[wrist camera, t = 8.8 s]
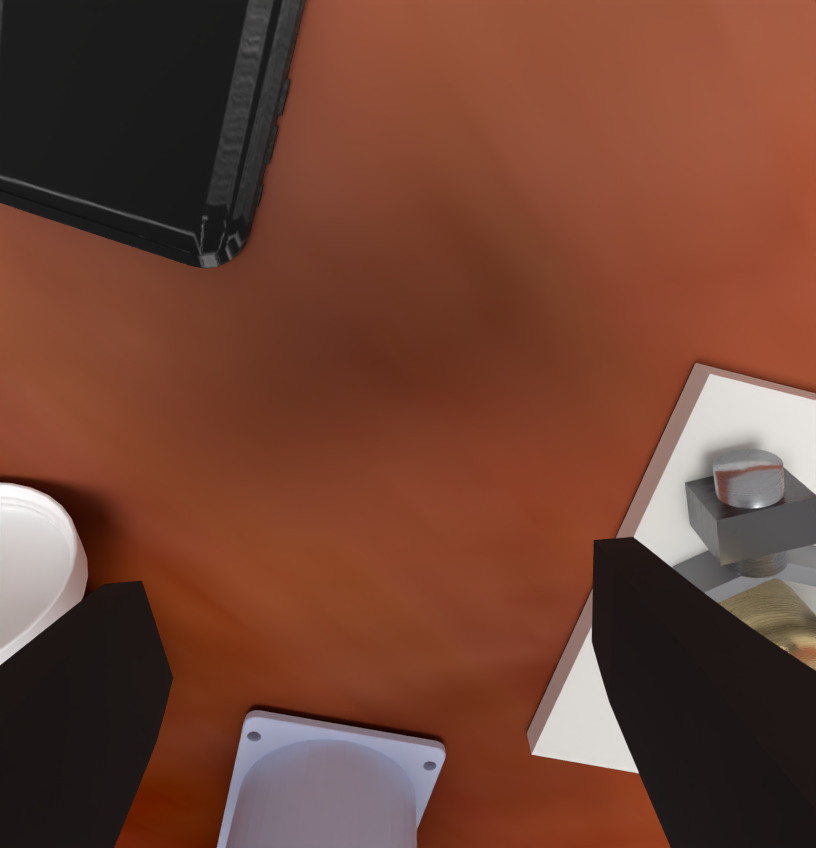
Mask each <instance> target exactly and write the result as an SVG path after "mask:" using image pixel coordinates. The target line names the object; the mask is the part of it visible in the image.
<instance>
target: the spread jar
mask: <svg viewBox="0 0 816 848" xmlns="http://www.w3.org/2000/svg"><path fill="white" fill-rule="evenodd" d="M87 578H88V567H87V557H86V554H85V551H84V548H83V545H82V543H81V540H80V538H79V535H78V533H77V530H76V528H75V526H74V523H73V521H72V518H71V517H70V516H69V514H68V513H67V512H66V510H65V509H64V507H63V506H62V505H61V504H59V503H58V502H57V501H56V500H54V499H53V498H52V497H50V496H49V495H47V494H45V493H43V492H40V491H38V490H36V489H34V488H31V487H27V486H22V485H18V484H14V483H1V482H0V665H1V664H2V663H3V662H5V661H6V660H7V659H8V658H10V657H11V656H12V655H13V654H15V653H16V652H17V651H19V650H20V649H21V648H22V647H24V646H25V645H26V644H27V643H29V642H30V641H31V640H32V639H34V638H35V637H36V636H37V635H39V634H40V633H41V632H42V631H44V630H45V629H46V628H47V627H49V626H50V625H51V624H52V623H54V622H55V621H56V620H57V619H59V618H60V617H61V616H62V615H64V614H65V613H66V612H67V611H69V610H70V609H71V608H73V607H74V606H75V605H76V604H78V603H79V602H80V601H81V600H82V598H83V596H84V593H85V588H86V583H87Z"/></svg>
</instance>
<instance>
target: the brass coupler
mask: <svg viewBox="0 0 816 848" xmlns="http://www.w3.org/2000/svg"><path fill="white" fill-rule="evenodd" d="M718 604H720V605H721V606H722V607H724V608H725V609H726V610H728V611H729V612H731V613H732V614H733V615H735V616H736V617H737V618H739V619H740V620H741V621H743V622H744V623H746V624H747V625H749V626H750V627H751V628H753V629H754V630H756V631H757V632H758V633H760V634H761V635H763V636H764V637H766V638H767V639H769V640H770V641H772V642H773V643H775V644H776V645H778V646H779V647H781V648H782V649H784V650H785V651H787V652H788V653H790V654H791V655H793V656H794V657H796V658H797V659H799V660H800V661H802V662H803V663H805V664H806V665H808V666H809V667H811V668H813V669H814V670H816V615H815V614H814V613H813V611H812V610H811V609H810V608H809V607H808V606H807V605H806V604H805V602H804V601H803V600H802V599H801V598H800V597H799V596H798V595H797V594H796V592H795V591H794V590H793V589H792V588H791V587H790V586H789V585H787V584H786V583H784V582H782V581H780V580H778V579H776V578H773V579H771V580H769V581H766V582H764V583H762V584H760V585H757V586H755V587H753V588H750V589H748V590H746V591H744V592H741V593H739V594H737V595H734V596H732V597H730V598H728V599H725V600H723V601H721V602H718Z"/></svg>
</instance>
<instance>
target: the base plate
mask: <svg viewBox="0 0 816 848" xmlns="http://www.w3.org/2000/svg"><path fill="white" fill-rule="evenodd" d="M740 449H758V450H764V451H768V452H771V453H773V454H775V455H777V456H778V457H780V458H781V460H782V462H783V467H784V468H785V469H786V470H788V471H789V472H790V473H791V474H792V475H793V476H795V477H796V478H797V479H798V480H799V481H800V482H802V483H803V484H804V485H805V486H806V487H807V488H808V489H810V490H811V491H812V492H813V493H814V494H815V495H816V393H812V392H808V391H805V390H801V389H797V388H793V387H789V386H785V385H781V384H777V383H773V382H769V381H765V380H761V379H757V378H753V377H750V376H746V375H742V374H738V373H734V372H730V371H726V370H722V369H718V368H714V367H710V366H706V365H702V364H698V363H695V365H694V367H693V369H692V372H691V374H690V376H689V378H688V380H687V383H686V385H685V387H684V389H683V391H682V394H681V396H680V398H679V400H678V402H677V405H676V407H675V409H674V411H673V413H672V415H671V418H670V420H669V422H668V424H667V426H666V429H665V431H664V433H663V435H662V437H661V440H660V442H659V444H658V446H657V448H656V451H655V453H654V455H653V457H652V459H651V462H650V464H649V466H648V468H647V470H646V472H645V475H644V477H643V479H642V481H641V483H640V486H639V488H638V490H637V492H636V494H635V497H634V499H633V501H632V503H631V505H630V508H629V510H628V512H627V514H626V516H625V519H624V521H623V523H622V525H621V527H620V529H619V532H618V534H617V536H616V538H625V537H634V538H635V539H637V540H638V541H639V542H641V543H642V544H643V545H644V546H646V547H647V548H648V549H649V550H651V551H652V552H653V553H654V554H656V555H657V556H658V557H659V558H661V559H662V560H663V561H664V562H666V563H667V564H668V565H669V566H671V567H672V568H673V569H674V570H676V571H677V572H678V573H680V574H681V575H682V576H683V577H685V578H686V579H687V580H688V581H690V582H691V583H692V584H693V585H695V586H696V587H697V588H699V589H700V590H701V591H703V592H704V593H705V594H706V595H708V596H709V597H710V598H712V599H713V600H714V601H716V602H717V603H718V602H721V601H723V600H725V599H728V598H730V597H732V596H734V595H737V594H739V593H741V592H744V591H746V590H748V589H750V588H753V587H755V586H757V585H760V584H762V583H764V582H766V581H769V580H771V579H773V578H776V579H778V580H780V581H782V582H784V583H786V584H787V585H789V586H790V587H791V588H792V589H793V590H794V591H795V592H796V594H797V595H798V596H799V597H800V598H801V599H802V600H803V601H804V602H805V604H806V605H807V606H808V607H809V608H810V609H811V610H812V611H813V613H814V614H815V615H816V544H814V545H809V546H805V547H801V548H796V549H792V550H787V555H788V564H787V566H786V568H785V569H784V570H783V571H782V572H780V573H779V574H777V575H774V576H771V577H766V578H749V577H744V576H741V575H738V574H735V573H733V572H732V571H730V570H729V569H727V568H726V566H725V565H722V566H721V565H720V564H719V563H718V561H717V560H716V559H715V557H714V556H713V555H712V553H711V552H710V551H709V549H708V548H707V547H706V545H705V544H704V543H703V541H702V540H701V539H700V537H699V536H698V535H697V533H696V532H695V531H694V529H693V528H692V527H691V525H690V522H689V514H688V505H687V497H686V489H685V482H689V481H693V480H697V479H702V478H706V477H710V476H714V473H713V463H714V461H715V460H716V459H717V458H718V457H719V456H721V455H722V454H725V453H727V452H730V451H734V450H740ZM592 599H593V589H592V591H591V593H590V595H589V597H588V600H587V602H586V604H585V606H584V608H583V611H582V613H581V615H580V617H579V619H578V622H577V624H576V626H575V628H574V630H573V633H572V635H571V637H570V639H569V641H568V643H567V646H566V648H565V650H564V652H563V654H562V657H561V659H560V661H559V663H558V665H557V668H556V670H555V672H554V674H553V676H552V679H551V681H550V683H549V685H548V687H547V690H546V692H545V694H544V696H543V698H542V700H541V703H540V705H539V707H538V709H537V711H536V714H535V716H534V718H533V720H532V722H531V725H530V727H529V729H528V731H527V736H528V741H529V745H530V750H531V755H537V756H543V757H549V758H554V759H560V760H566V761H572V762H577V763H583V764H589V765H595V766H601V767H606V768H612V769H618V770H624V771H629V772H635V773H639V772H638V770H637V767H636V765H635V763H634V760H633V758H632V756H631V753H630V751H629V749H628V746H627V744H626V741H625V739H624V737H623V734H622V732H621V730H620V727H619V725H618V722H617V720H616V718H615V715H614V713H613V710H612V708H611V706H610V703H609V700H608V697H607V693H606V690H605V687H604V684H603V680H602V677H601V674H600V670H599V666H598V663H597V659H596V656H595V652H594V649H593V645H592Z"/></svg>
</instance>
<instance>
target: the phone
mask: <svg viewBox="0 0 816 848" xmlns="http://www.w3.org/2000/svg"><path fill="white" fill-rule="evenodd" d="M305 2H306V0H0V203H2V204H5V205H8V206H11V207H14V208H17V209H20V210H23V211H26V212H29V213H32V214H35V215H38V216H41V217H44V218H48V219H51V220H54V221H57V222H60V223H63V224H66V225H69V226H72V227H75V228H78V229H81V230H84V231H87V232H90V233H93V234H96V235H99V236H102V237H105V238H108V239H111V240H114V241H117V242H120V243H123V244H126V245H129V246H132V247H135V248H138V249H141V250H144V251H148V252H151V253H154V254H157V255H160V256H163V257H166V258H169V259H172V260H175V261H178V262H181V263H184V264H187V265H190V266H194V267H200V268H212V267H218V266H220V265H222V264H224V263H226V262H228V261H230V260H231V259H232V258H234V257H235V256H236V255H237V254H238V253H239V252H240V251H241V250H242V249H243V248H244V246H245V244H246V242H247V239H248V237H249V234H250V230H251V226H252V222H253V218H254V214H255V210H256V207H258V206H259V202H260V198H261V193H262V189H263V185H262V180H263V176H264V172H265V168H266V164H268V165H269V163H270V159H271V155H272V151H273V147H274V143H275V138H276V134H277V130H278V126H276V122H277V118H278V115H281V116H282V113H283V109H284V105H285V100H286V96H287V92H288V88H289V84H290V80H288V79H287V77H288V72H289V68H290V64H291V60H292V56H293V52H294V47H295V43H296V39H297V35H298V31H299V27H300V23H301V18H302V14H303V10H304V6H305Z"/></svg>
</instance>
